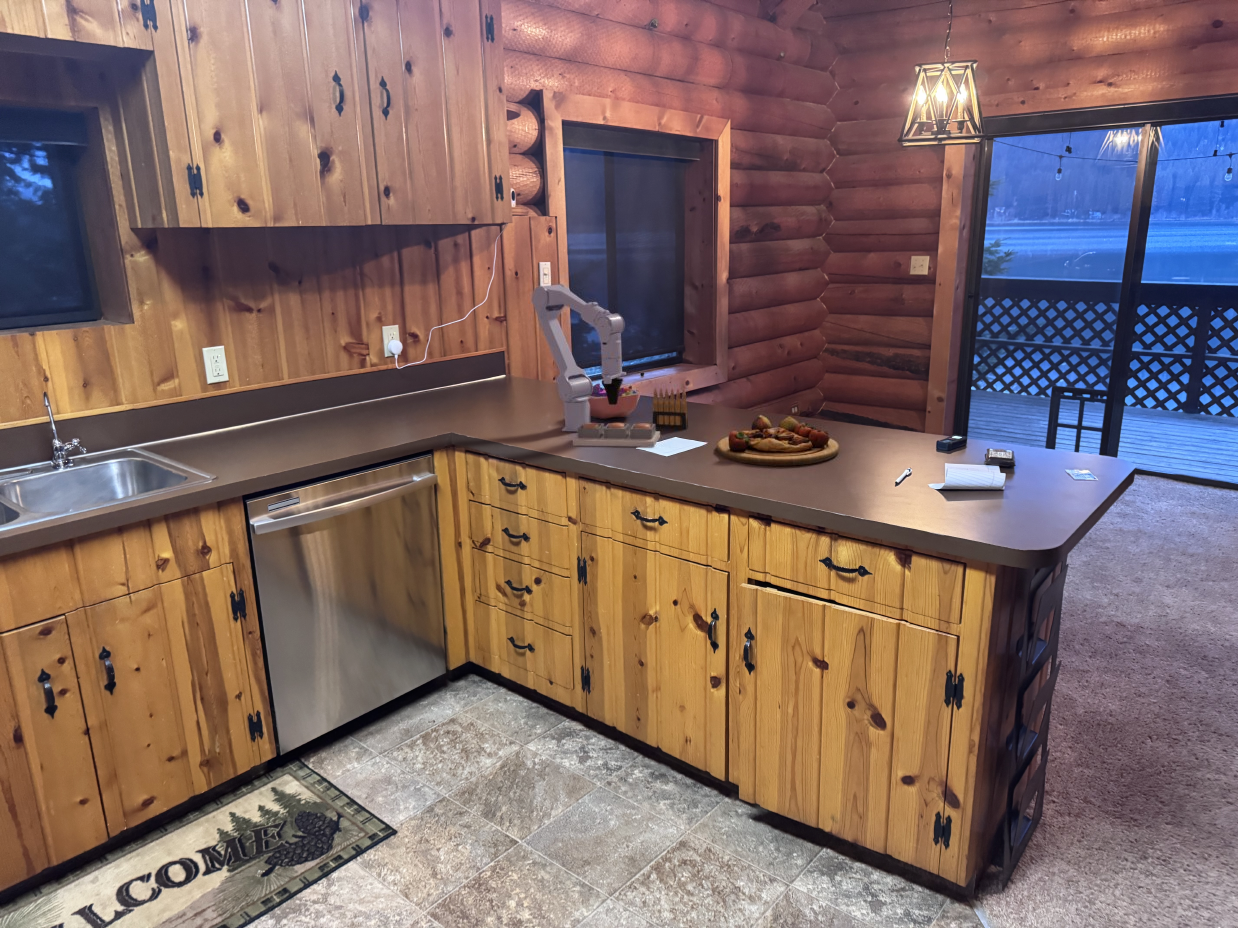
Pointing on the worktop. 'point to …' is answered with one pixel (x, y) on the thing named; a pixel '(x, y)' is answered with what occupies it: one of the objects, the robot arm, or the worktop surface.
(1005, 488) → the worktop surface
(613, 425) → the centre knob
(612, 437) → the plate
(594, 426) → the end knob
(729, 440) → the wooden plate with food
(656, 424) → the ammunition clip
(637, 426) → the knob
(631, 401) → the cell model
